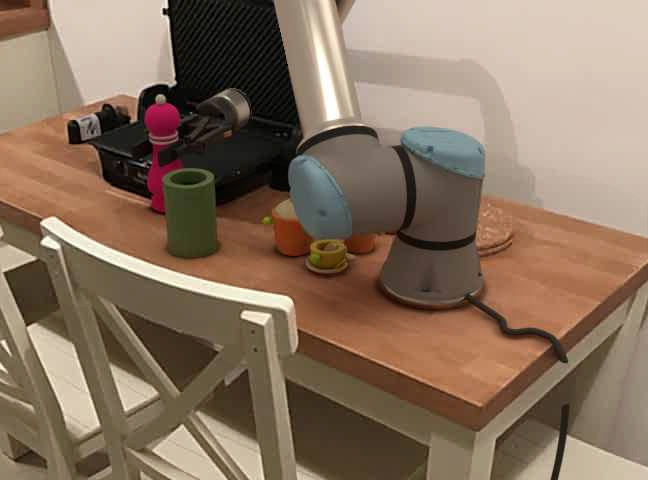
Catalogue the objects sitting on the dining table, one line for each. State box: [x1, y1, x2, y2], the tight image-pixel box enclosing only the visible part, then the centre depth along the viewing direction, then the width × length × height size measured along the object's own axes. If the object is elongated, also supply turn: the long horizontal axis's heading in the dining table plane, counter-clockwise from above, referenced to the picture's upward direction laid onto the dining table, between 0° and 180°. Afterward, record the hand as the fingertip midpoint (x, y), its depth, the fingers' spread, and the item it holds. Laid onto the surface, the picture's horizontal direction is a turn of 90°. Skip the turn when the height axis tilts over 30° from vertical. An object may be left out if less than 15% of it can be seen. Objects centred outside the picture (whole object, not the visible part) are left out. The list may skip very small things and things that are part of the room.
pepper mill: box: [144, 93, 185, 213], centre depth 160 cm, size 7×7×20 cm
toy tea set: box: [262, 195, 395, 274], centre depth 149 cm, size 26×16×10 cm, turn 137°
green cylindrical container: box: [162, 167, 219, 259], centre depth 148 cm, size 8×8×12 cm
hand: (146, 156), depth 155 cm, fingers closed on pepper mill, 5 cm apart
